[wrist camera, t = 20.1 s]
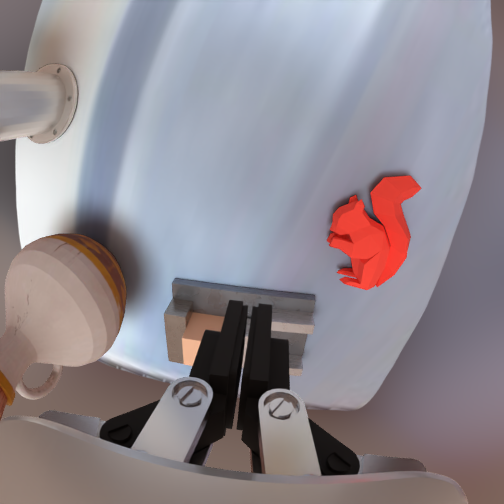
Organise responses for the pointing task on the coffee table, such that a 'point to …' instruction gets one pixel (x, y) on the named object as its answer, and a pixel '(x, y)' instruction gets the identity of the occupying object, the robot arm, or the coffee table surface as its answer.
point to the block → (198, 334)
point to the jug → (58, 310)
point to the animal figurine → (374, 233)
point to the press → (216, 301)
